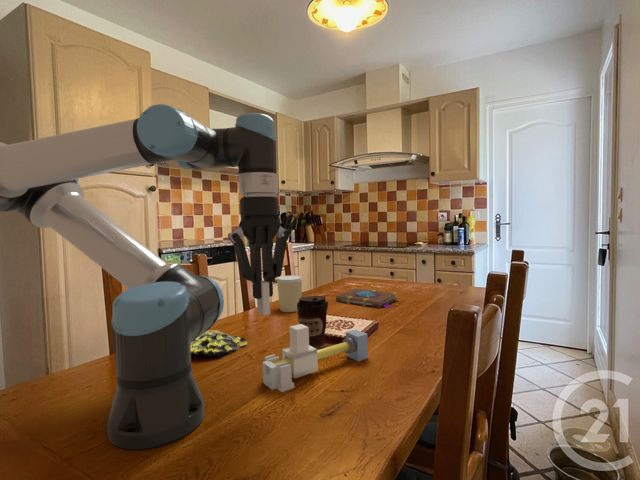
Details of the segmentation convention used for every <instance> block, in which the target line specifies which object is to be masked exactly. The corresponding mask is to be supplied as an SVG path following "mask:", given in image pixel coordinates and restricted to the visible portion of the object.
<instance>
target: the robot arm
mask: <svg viewBox="0 0 640 480" xmlns="http://www.w3.org/2000/svg"><path fill="white" fill-rule="evenodd" d="M172 161H175V162H176V163H178V165H179V166H180V167H181V168H182V169H185V170H186V169H191V170H192V169H193V170H202V169H215V168H216V169H217V168H219V169H220V168H236V167H237V168H238V170H237V171H238V192H239V193H238V194H239V195H241V197H240V199H239V211H240V212H239V215H240V221H239V224H238V228H237V229H236V230H234V231H232V232H229V233H228V235H227V237H228V239H229V241H230V242H231V243H232V245H233V248H234V251H235V255H236V258H237V262H238V265H239V269H240V273H241V276H242V279H243V280H245V281H249V282H251V284H252V297H253V299H256V306H257V307H256V308H257V314H259V315H261V316H269V315H271V297H273V295H274V284H273V283H274V282H275V281H276V279H278V277H282V272H283V267H284V261H285V255H286V254H285V253H286V248H287V242H288V240H289V238H290V236H291V233H292V232H291V230H289V229H285V228H284V227H282V226H281V222H280V220H279V198H278V197H277V196H276V195H277V194H278V193H279V191H278V169H277V168H278V166H277V139H276V128H275V121H274V119H273V118H272V117H271V116H269V115H268V114H263V113H257V112H252V113H251V112H249V113H245V114H240V115H238V116H237V117H236V119H235V124H234V126H233V127H232V126H231V127H227V128H211V127H209V126H206V124H203V123H201V122H200V121H198V120H197V119H195V118H193V117H192V116H190V115H189V114H187V113H186V112H184V111H183V110H182V109H179V108H176V107H173V106H170V105H167V104H162V103H160V104H153V105H151V106H148V108H147V109H145V110H144V111H143V112H141V114H140V115H139V117H137V118H134V119H129V120H124V121H119V122H114V123H108V124H105V125H100V126H95V127H89V128H84V129H79V130H73V131H70V132H66V133H65V132H64V133H60V134H56V135H55V134H54V135H51V136H45V137H40V138H37V139H30V140H25V141H20V142H16V143H12V144H11V143H10V144H7V143H5V142H0V212H12V213H13V212H15V213H18V214H20V215H21V216H22V217H24V218H25V219H26V220H27V221H29V222H30V223H31V224H33V225H34V227H38V228H41V229H47V228H51V229H53V231H54V232H56V233H57V234H59V235H60V236H61V237H62V238H64V239H65V240H66V241H67V242H69V243H70V244H71V245H72V246H74V247H75V248H76V249H77V250H79V251H80V252H81V253H82V254H83V255H85V256H87V258H89V259H90V260H91V261H93V262H94V263H95V264H97V266H99V267H100V268H101V269H102V270H104V271H105V272H106V273H107V274H109V275H111V276H112V277H113V278H114V279H116V280H117V281H118V282H120V284H122V286H124V287H125V288H127V289H126V290H124V291H122V292H121V293H119V295H117V296H116V298H115V299H114V301H113V303H112V317H111V327H112V333H113V343H114V344H113V345H114V358H115V359H114V361H115V372H116V373H115V374H116V390H115V394H114V398H113V400H112V403H111V408H110V412H109V415H108V419H107V427H106V428H107V437H108V440H109V442H110V443H111V444H112V445H113V446H116V447H118V448H121V449H126V450H146V449H152V448H156V447H160V446H164V445H167V444H169V443H172V442H175V441H177V440H179V439H181V438H183V437H185V436H186V435H188V434H190V433H191V432H193V431H194V430H195V429H196V428H197V427H198V426H199V425H200V424H201V422H203V419H204V417H205V402H204V397H203V395H202V392H201V391H200V389H199V388H200V387H199V386H198V383H197V380H196V379H195V377H194V374H193V370H192V369H193V368H192V354H191V348H190V343H191V342H192V341H194V340H195V339H196V338H197V337H199V336H200V335H201V334H203V333H204V332H206V331H208V330H211V329H212V327H214V325H215V324H216V322H218V320H219V318H221V315H222V314H223V311H224V307H225V306H224V305H225V300H224V293H223V291H222V289H221V287H220V286H219V284H218V283H217V282H216V281H215V280H214V279H212V278H211V277H209V276H206V275H202V274H201V275H200V274H198V275H197V274H196V275H195V274H194V273H192V272H191V271H190V270H189V269H188V268H186V267H185V266H184V265H182V264H181V263H171V264H169V263H168V262H166V261H165V260H164V259H163V258H161V257H160V256H158V255H157V253H155V252H154V251H152V250H151V249H150V248H148V247H147V246H146V245H144V244H143V243H142V242H141V241H140V240H138V239H137V238H135V237H134V236H133V235H131V234H130V233H129V232H128V231H126V230H125V229H124V228H123V227H121V226H120V225H119V224H117V223H116V222H115V221H114V220H112V219H111V218H110V217H109V216H107V215H106V214H105V213H104V212H103V211H101V210H99V209H98V207H96V206H94V205H93V204H92V203H91V202H89V201H88V200H87V199H86V198H85V191H84V188H83V187H82V186H81V185H80V184H79V179H83V178H88V177H94V176H98V175H99V176H100V175H104V174H109V173H113V172H118V171H124V170H129V169H134V168H139V167H145V166H150V165H156V164H162V163H167V162H172ZM244 237H245V238H246V240H247V241H248V248H249V255H250V256H248V252H247V249H246V245H245V242H244ZM275 237H276V240H275V245H274V239H275ZM273 247H274V249H273ZM273 250H274V251H273ZM249 258H250V259H249ZM249 260H250V261H249Z"/></svg>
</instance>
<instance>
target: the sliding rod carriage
mask: <svg viewBox="0 0 640 480" xmlns="http://www.w3.org/2000/svg"><path fill="white" fill-rule="evenodd" d="M317 350H318V348H314V347H312V346H310V345H309V327H307V326H305V325H302V324H299V323H298V324H296V325H289V347H286V348H282V349H281V352H282V353H281V354H282V357H281V358H282V359H281V360H285V359H288V358H291V360H292V368H291V374H292V378H293V379H297V378H300V377H304V376H306V375H310V374H312V373H315V372H317V371H318V372H319V367H318V366H319V365H318V363H319V361H318V360H319V359H317Z"/></svg>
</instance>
